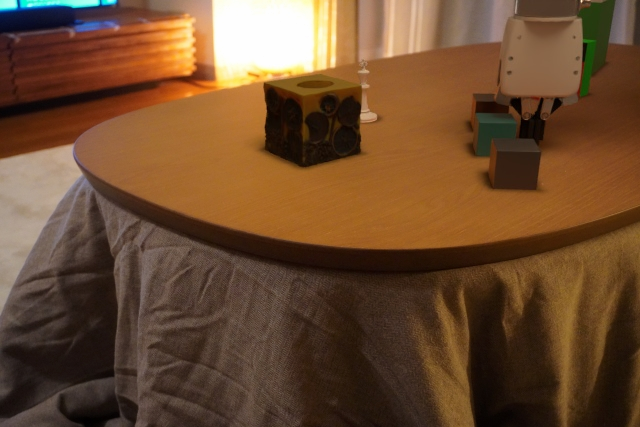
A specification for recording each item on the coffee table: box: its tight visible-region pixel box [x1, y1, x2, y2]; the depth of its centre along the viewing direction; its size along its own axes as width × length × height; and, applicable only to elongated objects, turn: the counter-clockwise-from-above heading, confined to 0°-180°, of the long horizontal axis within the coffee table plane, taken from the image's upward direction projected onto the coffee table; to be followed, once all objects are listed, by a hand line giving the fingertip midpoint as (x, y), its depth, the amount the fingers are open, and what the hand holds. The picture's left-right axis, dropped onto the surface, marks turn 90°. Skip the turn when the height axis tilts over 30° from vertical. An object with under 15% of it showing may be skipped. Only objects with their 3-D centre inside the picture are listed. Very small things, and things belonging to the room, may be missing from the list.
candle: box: [262, 73, 362, 168], centre depth 86 cm, size 10×10×10 cm
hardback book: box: [577, 0, 616, 77], centre depth 134 cm, size 18×7×24 cm, turn 148°
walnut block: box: [470, 93, 510, 132], centre depth 97 cm, size 5×5×5 cm
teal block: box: [472, 112, 518, 158], centre depth 86 cm, size 5×5×5 cm
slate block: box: [487, 138, 542, 191], centre depth 75 cm, size 5×5×5 cm
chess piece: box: [356, 58, 378, 123], centre depth 102 cm, size 5×5×10 cm
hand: (530, 145), depth 86 cm, fingers closed
